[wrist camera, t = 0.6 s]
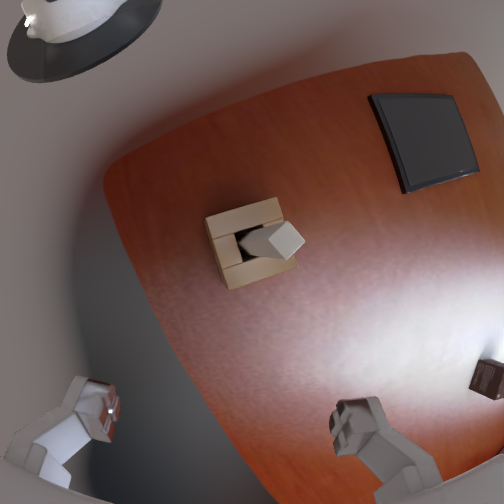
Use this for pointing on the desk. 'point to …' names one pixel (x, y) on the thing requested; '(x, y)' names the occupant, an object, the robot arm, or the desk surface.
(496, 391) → the box
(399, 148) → the plate
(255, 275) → the pen stand
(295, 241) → the white square bar
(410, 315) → the desk surface
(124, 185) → the desk surface
